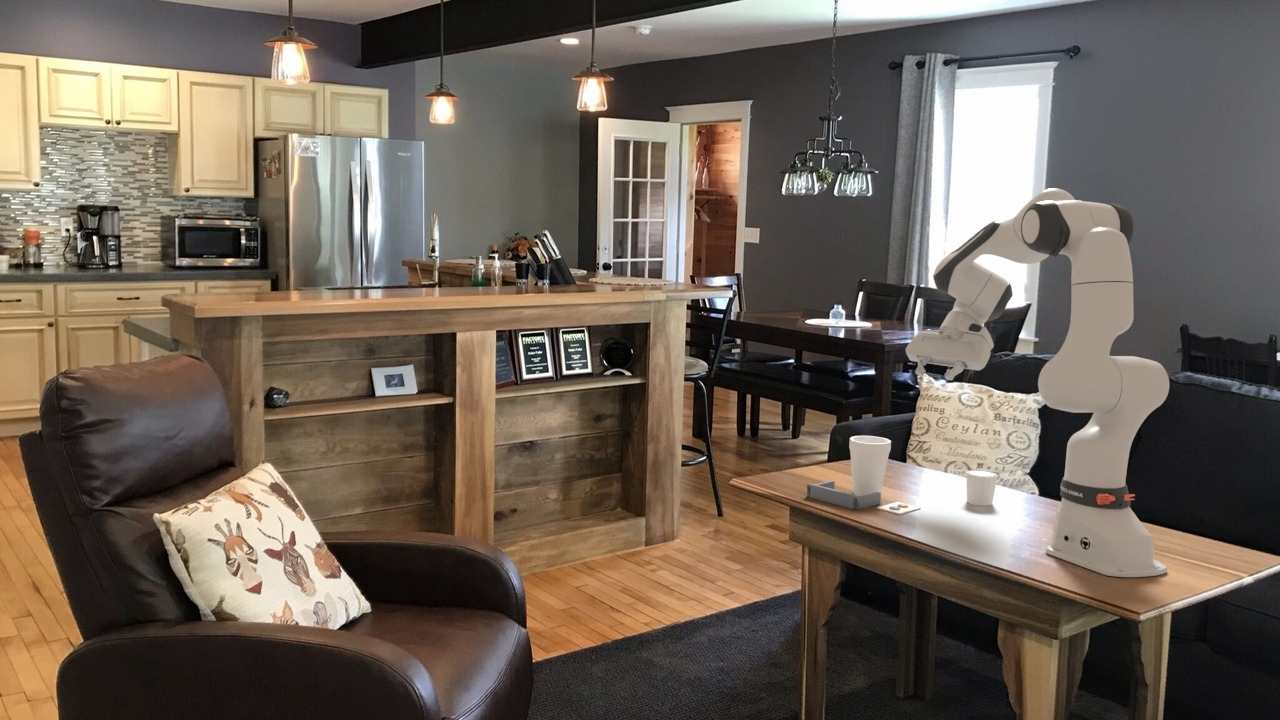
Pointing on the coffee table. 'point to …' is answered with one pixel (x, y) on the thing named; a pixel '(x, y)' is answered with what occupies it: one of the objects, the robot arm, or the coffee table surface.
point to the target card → (898, 508)
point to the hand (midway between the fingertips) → (933, 376)
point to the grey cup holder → (841, 496)
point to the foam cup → (868, 463)
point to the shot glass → (980, 487)
